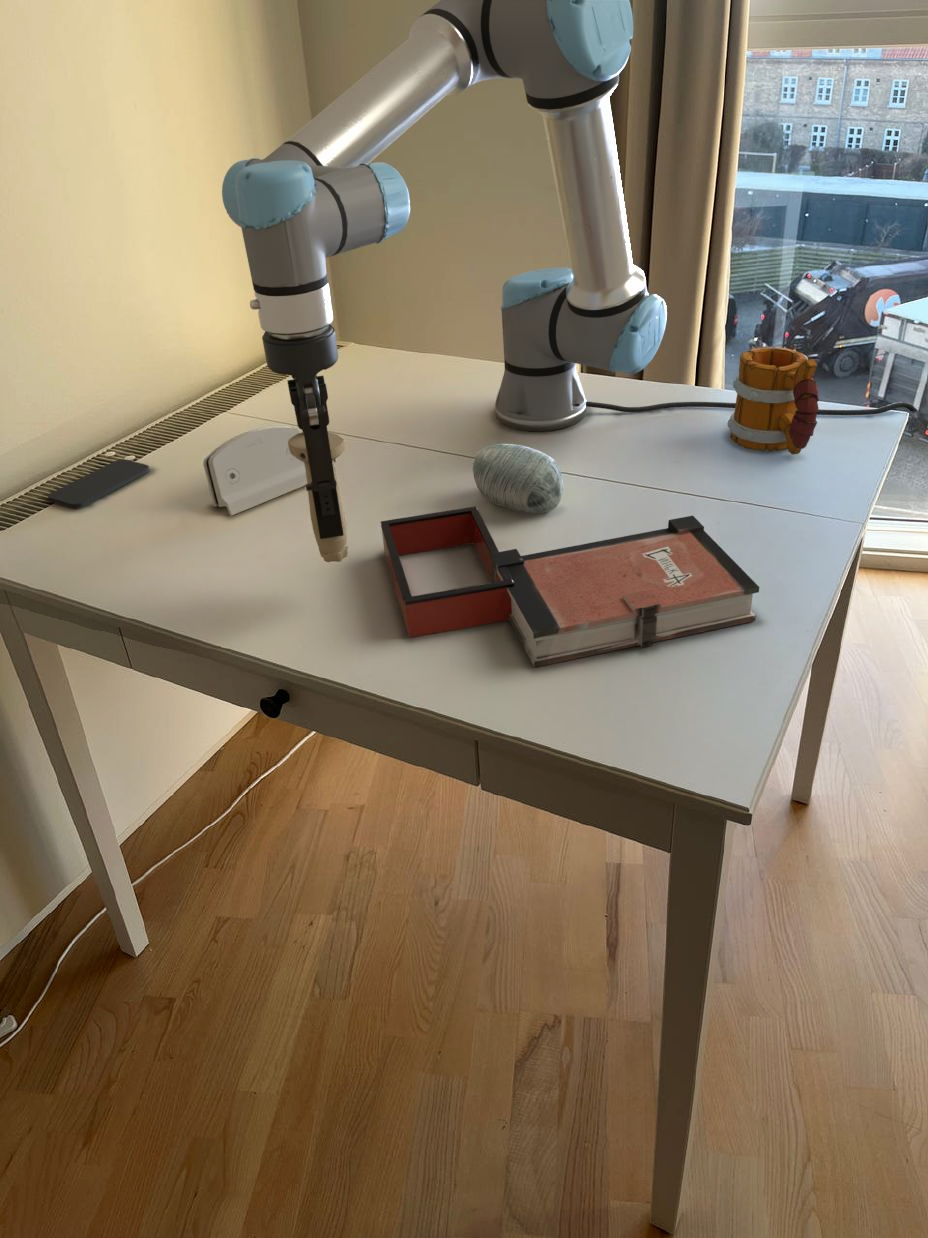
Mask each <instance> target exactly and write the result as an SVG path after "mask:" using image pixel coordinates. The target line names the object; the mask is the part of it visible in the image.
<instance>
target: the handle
mask: <svg viewBox="0 0 928 1238" xmlns="http://www.w3.org/2000/svg"><path fill="white" fill-rule="evenodd" d="M328 438H329V444H330V451H331V457H332V464H333V470H334V477H335V480H336V482H337V485H336V486H337V487H336V489H337V495H338V502H339V508H340V515H341V521H342V528H343V534H344V536H337V537H331V538H325V539H320V535H319V529H318V523H317V517H316V511H315V505H314V499H313V494H312V490H310V491H307V493H308V503H309V504H308V505H309V514H310V521H311V525H312V526H311V527H312V530H313V535H314V538H315V541H316V544H317V547H318V551H319V554H320V557H321V558H323V561H324V562H326V563H333V562H334V563H335V562H337V563H339V562H342V560H343V559H345V558H347V557H348V554H349V553H348V551H349V550H348V546H346V545H347V542H348V529H347V520H346V519H347V518H346V512H345V507H344V503H343V498H342V495H341V489H340V485H339V480H338V476H337V470H336V466H335V462H334V459H337V458H339V457H340V456H342V454H344V452H345V451H346V446H345V439H344V438H343V437H342V436H341V435H339V434H337V433H333V432H329V431H328ZM288 446H289V450H290V452H291V453H292V454H293V455H294V456H295V457H296V458H297V459H299V460H300V461H302V462H304V465H305V470H306V478H307V484H311V482H312V479H311V473H310V467H309V461H308V455H307V450H306V444H305V438H304V435H303V431H302V432H299V434H297V435H295V436H293V437H291V438H290V439H289V440H288Z"/></svg>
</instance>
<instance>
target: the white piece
mask: <svg viewBox="0 0 928 1238" xmlns="http://www.w3.org/2000/svg"><path fill="white" fill-rule="evenodd" d="M299 433H300V431H299V429H297V428H295V427H292V426H283V425H282V426H267V427H261V428H256V429H251V430H249V431H246V432H243V433H240V434H238V435H236V436H234V437H232V438H230V439H228V440H226V441H225V442H223V443H222V444H220V445H219V446H218V447H216V448H214V450H213V451H212V452H210V453H209V454H208V455H207V456H206V457H205V458H204V459H203V462H202V465H203V469H204V472H205V476H206V477H205V478H206V481H207V484H208V489H209V492H210V497H211V501H212V504H213V507H215V508H217V507H221V508H222V507H226V509H227V512H228V515H229V516H234V515H237V514H239V513H242V512H243V511H246V510H249V509H251V508H254V507H256V506H258V505H261V504H263V503H265V502H268V501H270V500H273V499H276V498H277V497H280V496H282V495H285V494H287V493H290V492H293V491H295V490H297V489H300V488H302V487H306V484H307V478H306V470H305V465H304V462H302V461H300V460H299V459H297V458H296V457H295V456H294V455H293V454H292V453H291V452H290V450H289V446H288V440H289V439H290V438H291V437H293V436H295V435H297V434H299Z"/></svg>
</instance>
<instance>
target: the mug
mask: <svg viewBox="0 0 928 1238" xmlns="http://www.w3.org/2000/svg"><path fill="white" fill-rule="evenodd" d="M816 362H817V361H815V359H813V358H808V357H807V356H806V355H805V354H804V353H802V352H800V351H797V350H795V349H791V348H787V347H782V346H781V347H780V346H773V347H770V346H765V347H764V346H763V347H755V348H752V349H749V350H747V351H743V352H742V353H741V354H740V355H739V364H738V365H739V367H738V375H737V376H736V377H735V380H733V383H732V387H733V389H734V390H735V393H736V401H735V403H736V405H735V408H734V411H733V412H732V414H730V415H731V416H730V418H729V419H728V420H727V422H726V423H727V427H728V428H729V431H730V434H729V438H730V439H731V441H732V442H733V443H735V444H736V445H738V446H740V447H743V448H745V449H748V450H753V451H759V452H766V451H767V452H773V451H774V452H775V451H776V452H779V451H783V450H787V451H788V452H789V454H790V455H799V454H800V453H801V451H802V450H803V449H806V447H807V445H808V443H809V442H810V439H811V437H813V436H814V432H815V428H816V427H817V424H818V421H817V415H816V414H817V413H818V412H819V409H820V408H819V401H820V399H819V397H820V396H819V388H818V383H817V381H815V380H814V378H813V377H815V373H816V370H817V366H818V364H817V363H816Z"/></svg>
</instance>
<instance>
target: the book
mask: <svg viewBox="0 0 928 1238" xmlns="http://www.w3.org/2000/svg"><path fill="white" fill-rule="evenodd" d="M667 522H668V523H667V527H665V528H662V529H656V530H650V531H645V532H641V533H635V534H630V535H624V536H619V537H614V538H608V539H604V540H598V541H593V542H588V543H582V544H576V545H572V546H567V547H561V548H556V549H550V550H544V551H539V552H535V553H529V554H524V555H521V554H520V552H519V551H518V549H517V548H512V549H507V550H501V551H499V552H496V553H491V554H490V556H491V574H492V582H491V583H493V582H497V579H496V572H497V574H498V576H499V578H500V579H501V581H503V579H502V577H501V575H500V573H499V571H498V567H501V566H506V567H507V569H508V571H509V573H510V575H511V577H512V579H513V582H514V586H513V587H508V588H507V591H508V594H509V596H510V597H511V605H512V614H509V620H508V621H509V623H510V625H511V626H512V628H513V630H514V632H515V634H516V637H518V639H519V641H520V644H521V646H522V647H523V649H524V651H525V653H526V655H527V656H528V658H529V661H530V662H531V664H532V666H533V667H534V668H538V667H542V666H547V665H552V664H553V665H554V664H557V663H562V662H566V661H572V660H575V659H582V658H585V657H590V656H595V655H599V654H605V653H608V652H609V653H610V652H614V651H618V650H624V649H627V648H628V649H629V648H633V647H638V646H640V647H641V648H645V647H651V646H654V643H656V642H662V641H666V640H670V639H677V638H679V637H680V638H681V637H685V636H689V635H694V634H700V633H703V632H709V631H713V630H718V629H723V628H728V627H733V626H737V625H742V624H747V623H751V622H756V616H757V615H756V614H755V613H754V612H753V611H752V603H753V597H754V596H753V595H754V594H758V593H760V586H759V585H758V584H757V583H756V582H755V581H754V580H753V579H752V577H750V576H749V575H748V574H747V573H746V572H745V571H744V570H743V569H742V567H740V566H739V564H737V563H736V561H735V560H734V559H733V558H732V557H731V556H730V555H729V554H728V553H727V552H726V551H725V550H724V549H723V548H722V547H721V546H720V545H719V544H718V543H717V542H716V541H715V540H714V539H713V538H712V537H711V536H710V535H709V534H708V533H707V532H706V531H705V526H704V525H703V524H702V523H701V521H699V520H698V519H697V518H696V517H695V516H694V515H688V516H683V517H677V518H672V519H668V521H667Z"/></svg>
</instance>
